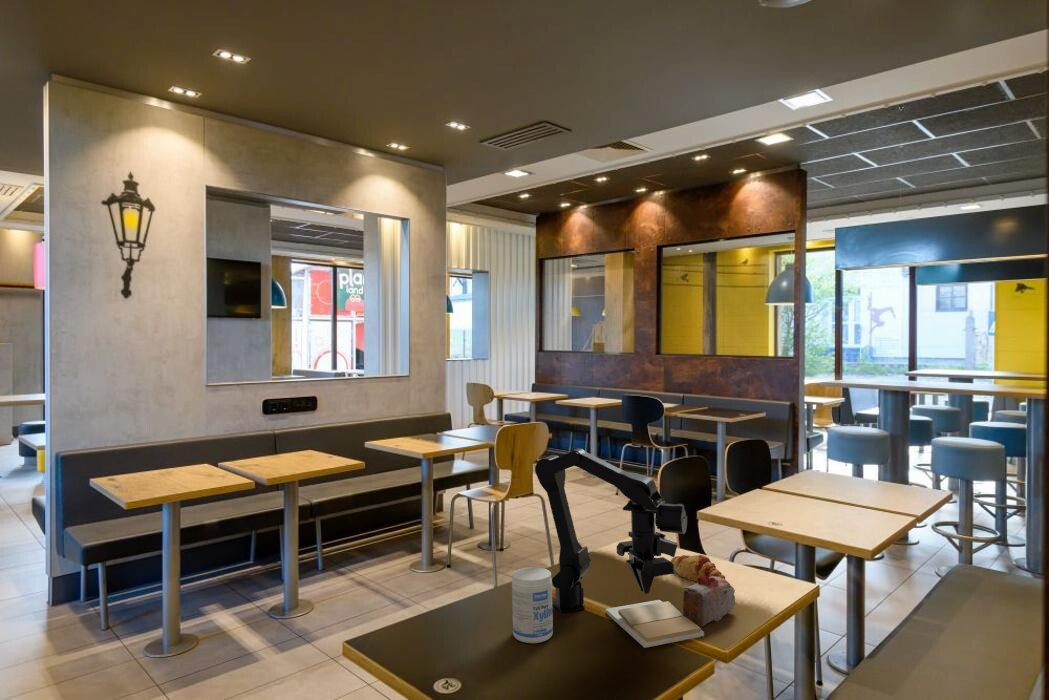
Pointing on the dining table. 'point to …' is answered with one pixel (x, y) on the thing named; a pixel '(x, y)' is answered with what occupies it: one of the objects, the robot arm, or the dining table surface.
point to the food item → (708, 600)
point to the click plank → (649, 613)
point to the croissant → (695, 567)
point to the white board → (657, 628)
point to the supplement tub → (532, 604)
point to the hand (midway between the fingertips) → (644, 592)
